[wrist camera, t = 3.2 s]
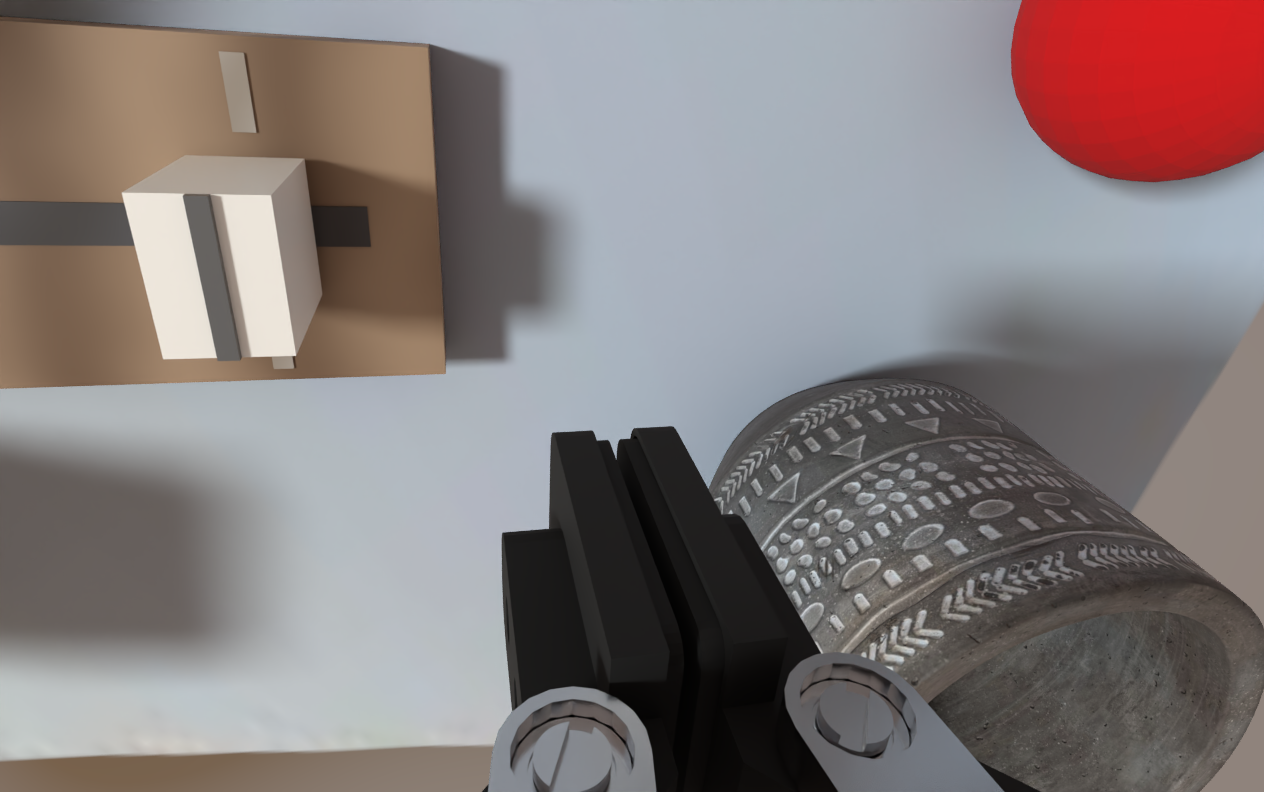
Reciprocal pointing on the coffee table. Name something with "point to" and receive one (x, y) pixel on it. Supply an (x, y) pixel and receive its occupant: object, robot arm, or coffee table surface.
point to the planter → (996, 587)
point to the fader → (227, 255)
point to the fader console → (211, 126)
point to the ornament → (1143, 83)
